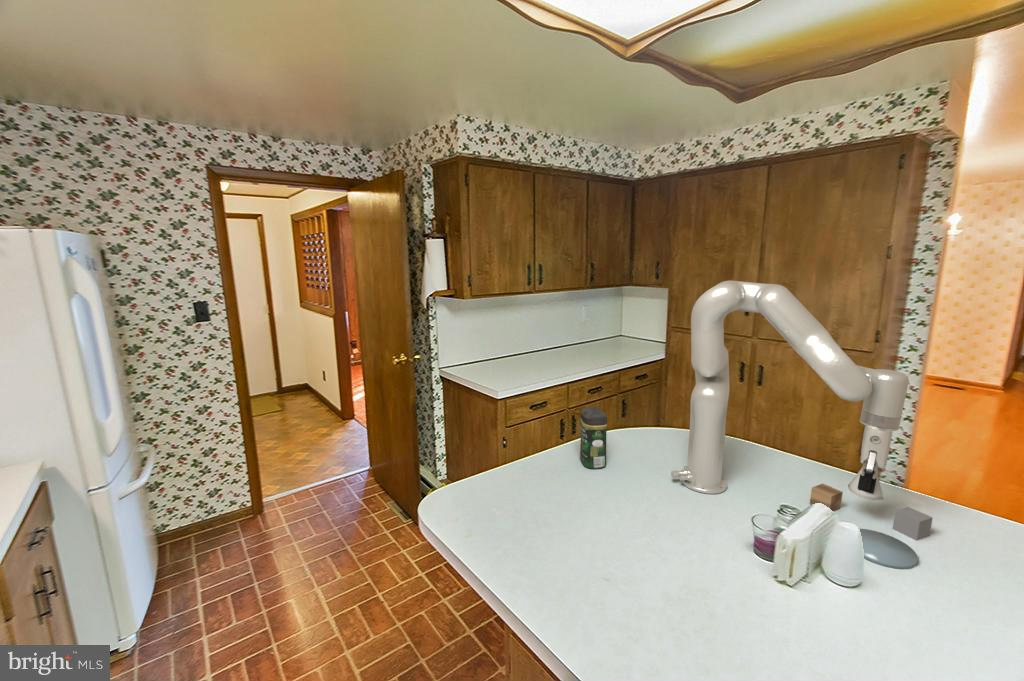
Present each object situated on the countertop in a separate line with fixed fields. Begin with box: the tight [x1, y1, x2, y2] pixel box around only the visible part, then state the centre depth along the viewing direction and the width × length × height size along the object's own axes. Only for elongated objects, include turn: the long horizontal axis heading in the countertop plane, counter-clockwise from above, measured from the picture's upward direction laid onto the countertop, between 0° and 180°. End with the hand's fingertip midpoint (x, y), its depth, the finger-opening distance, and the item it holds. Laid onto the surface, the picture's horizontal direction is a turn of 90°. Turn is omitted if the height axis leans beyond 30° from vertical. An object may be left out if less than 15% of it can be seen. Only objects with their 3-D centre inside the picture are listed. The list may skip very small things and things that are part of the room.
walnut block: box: [809, 483, 843, 512], centre depth 119 cm, size 5×5×5 cm
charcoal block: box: [892, 506, 934, 542], centre depth 107 cm, size 5×5×5 cm
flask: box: [847, 459, 885, 501], centre depth 112 cm, size 7×7×10 cm
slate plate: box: [859, 528, 919, 570], centre depth 101 cm, size 13×13×1 cm
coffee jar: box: [579, 406, 608, 470], centre depth 144 cm, size 10×8×19 cm
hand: (866, 486), depth 112 cm, fingers closed on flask, 5 cm apart
